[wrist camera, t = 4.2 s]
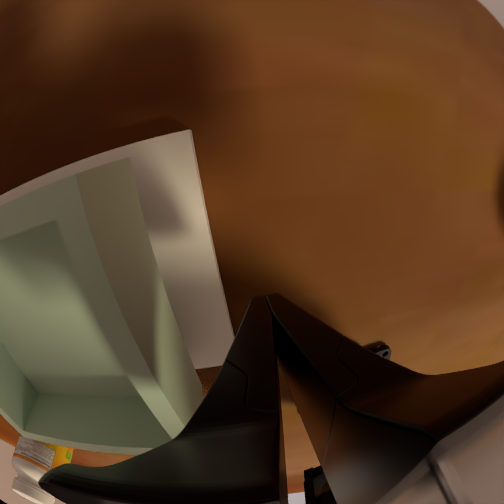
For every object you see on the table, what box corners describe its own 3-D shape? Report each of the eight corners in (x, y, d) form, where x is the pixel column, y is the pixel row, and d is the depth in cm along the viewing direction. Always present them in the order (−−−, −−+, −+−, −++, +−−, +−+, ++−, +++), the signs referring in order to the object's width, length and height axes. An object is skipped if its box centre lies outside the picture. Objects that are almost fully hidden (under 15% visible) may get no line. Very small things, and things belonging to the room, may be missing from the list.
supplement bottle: (75, 441, 19) (60, 515, 11) (32, 419, 18) (9, 489, 9) (80, 424, 18) (60, 510, 9) (30, 397, 16) (0, 479, 7)
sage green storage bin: (202, 364, 14) (203, 454, 9) (50, 373, 14) (23, 436, 9) (141, 153, 10) (75, 173, 5) (-25, 219, 9) (-91, 262, 4)
